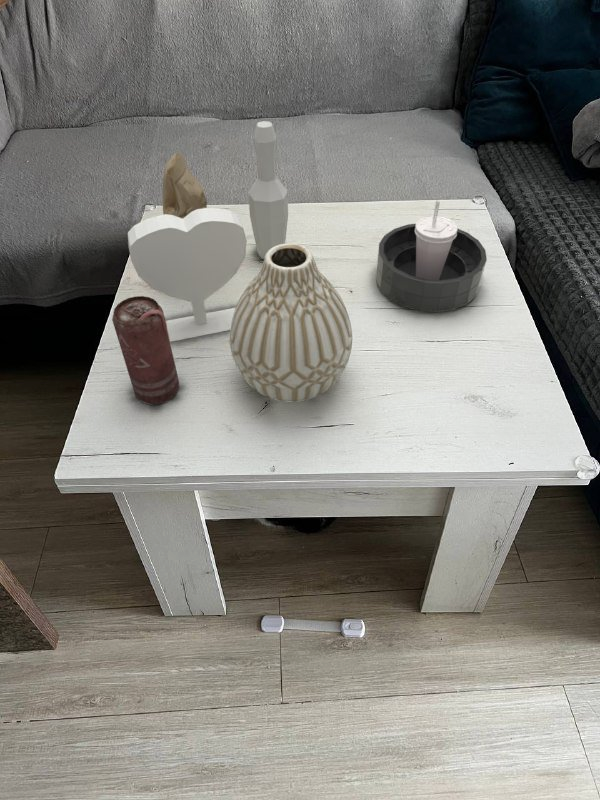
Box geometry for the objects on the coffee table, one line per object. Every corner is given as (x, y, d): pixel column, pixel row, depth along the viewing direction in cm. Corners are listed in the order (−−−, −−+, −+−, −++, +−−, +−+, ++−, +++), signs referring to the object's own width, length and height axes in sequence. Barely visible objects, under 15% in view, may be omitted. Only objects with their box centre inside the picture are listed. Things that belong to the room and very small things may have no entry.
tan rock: (206, 299, 96) (188, 180, 81) (162, 295, 97) (136, 177, 82) (225, 254, 105) (212, 139, 90) (185, 250, 105) (165, 136, 91)
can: (179, 405, 80) (161, 324, 70) (132, 407, 80) (106, 326, 70) (183, 373, 84) (166, 292, 74) (137, 375, 84) (114, 294, 74)
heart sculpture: (247, 305, 95) (237, 199, 82) (254, 325, 92) (245, 218, 78) (148, 324, 92) (121, 218, 79) (152, 345, 89) (125, 238, 75)
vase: (213, 370, 85) (193, 248, 70) (303, 326, 91) (302, 205, 77) (278, 440, 76) (271, 317, 61) (373, 386, 82) (387, 262, 68)
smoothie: (400, 273, 99) (410, 194, 89) (432, 264, 101) (447, 185, 91) (421, 295, 95) (435, 215, 85) (455, 284, 97) (472, 205, 87)
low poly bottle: (287, 241, 107) (283, 114, 91) (291, 261, 103) (288, 132, 87) (251, 243, 107) (241, 116, 91) (254, 264, 102) (244, 134, 86)
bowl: (497, 280, 99) (506, 248, 94) (440, 329, 91) (447, 297, 86) (414, 242, 106) (419, 212, 102) (355, 284, 98) (357, 253, 94)
